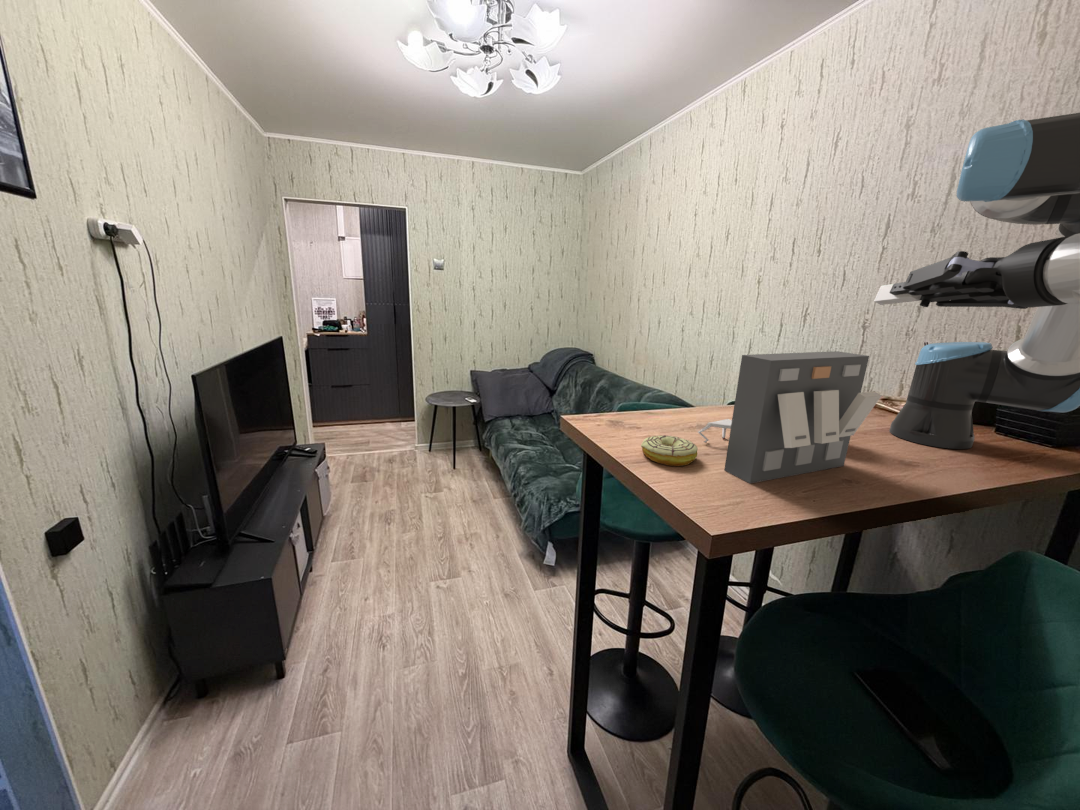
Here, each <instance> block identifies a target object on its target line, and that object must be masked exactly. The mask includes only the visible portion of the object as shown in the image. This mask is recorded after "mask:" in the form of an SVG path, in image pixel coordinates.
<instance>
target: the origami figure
mask: <svg viewBox="0 0 1080 810" xmlns="http://www.w3.org/2000/svg"><path fill="white" fill-rule="evenodd" d="M731 424H732V419H729V418H725V419H720V420H716V421H709V422H707V424H706V426H704V427H702V428H701V429H700V430H698V431H697V433H698V434H699V435H700V436H701V437H702V438H703V439H705V440H704V441H703V443H707V442H709V441H710V440H709V438H707V436H705V435H704V434H703V432H704V431H706V430H707V429H709V428H711V427H714V428H720V429H722V434H721V436H722V437H721V438H722V439H725V438H726V432H727V429H730V430H731Z"/></svg>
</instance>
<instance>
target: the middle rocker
mask: <svg viewBox="0 0 1080 810" xmlns="http://www.w3.org/2000/svg"><path fill="white" fill-rule="evenodd" d="M836 441H839V390H824V391H814V443H821V444H823V443H830V442H836Z"/></svg>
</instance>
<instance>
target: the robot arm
mask: <svg viewBox="0 0 1080 810" xmlns="http://www.w3.org/2000/svg"><path fill="white" fill-rule="evenodd" d="M961 168H962V169H961V171H960V175H959V180H958V186H957V188H956V198H957V199H958V200H959V201H961V202H970V204H971V207H972V208H973V209H974V211H975V212H976V213H978V214H979V215H981V216H982V217H985V218H988V219H991V220H995V221H997V222H1003V223H1010V224H1016V225H1029V226H1031V225H1035V226H1037V225H1039V226H1040V225H1058V227H1057V231H1058V232H1057V233H1058V234H1059V236H1061V237H1055V238H1051V239H1046V240H1041V241H1034V242H1030V243H1028V244H1025V245H1022V246H1020V247H1019V248H1018V249H1016V250H1015V251H1013V252H1012V253H1010V254H1009V255H1006V256H1005V257H1004V256H1001V257H998V256H997V257H995V256H994V257H993V256H992V257H990V256H989V257H985V258H983V259H981V260H976V259H971V258H969V257H968V256H969V252H967V251H963V250H960V251H957V252H955V253H954V254H953V255H952V256H951V257H948V258H945V259H943V260H939V261H937V262H934V263H931V264H928V265H926V266H923V267H920V268H917V269H914V270H911V271H909V274H908V277H907V278H906V280H905V281H902V282H895V283H892V284H891V283H890V284H885V285H880V287H879V289H878V291H877V293H876V295H875V297H874V299H873V302H874V303H876V304H878V305H881V306H883V305H891V304H903V303H910V302H911V303H912V302H920V303H919V306H920V307H923V308H928V307H929V306H930V303H935V306H937V307H943V308H944V307H945V308H946V307H947V308H953V307H954V308H957V307H959V308H962V307H963V308H965V307H966V308H967V307H968V308H1008V309H1009V308H1010V309H1011V308H1012V309H1023V310H1025V309H1029V308H1036V310H1035V311H1034V314H1033V317H1032V318H1031V321H1030V323H1029V325H1028V328H1027V330H1026V333H1025V335H1024V336H1023V338H1019V339H1018V340H1016V341H1014V342H1013V343H1011V345H1009V347H1008V349H1007V350H1002V349H1001V350H999V349H993V343H990V342H985V341H983V342H982V341H951V342H950V341H949V342H946V341H945V342H935V343H928V344H926V345H924V346H923V347H922V348H921V349H920V351H919V354H918V357H917V360H916V361H915V363H914V364H915V368H914V372H913V376H912V379H911V383H910V385H909V386H910V387H909V389H908V394H907V397H906V402H905V403H904V405H903V406H902V407H901V410H899V412H898V413H897V414H896V416H895V418H894V419H893V420H892V422H891V423H890V425H889V426H890V427H889V430H888V431H889V433H890V434H891V435H893V436H895V437H898V438H899V439H902V440H904V441H905V440H906V441H908V442H912V443H915V444H916V443H917V444H920V445H924V446H925V445H926V446H930V447H934V448H940V449H941V448H942V449H950V450H952V449H953V450H968V449H971V448H972V447H973V444H974V441H975V437H976V436H975V434H974V433H975V431H974V424H973V423H974V422H973V416H972V412H973V408H974V405H975V402H980V403H986V404H987V403H988V404H995V405H1001V406H1005V407H1006V406H1007V407H1012V408H1013V407H1014V408H1019V409H1028V410H1032V411H1038V412H1053V413H1069V412H1072V411H1074V410H1076V409H1078V408H1080V112H1075V113H1067V114H1062V115H1054V116H1047V117H1039V118H1034V119H1027V120H1026V119H1017V120H1016V119H1015V120H1013V121H1011V122H1008V123H1004V124H998V125H994V126H993V125H992V126H989V127H984V128H981V129H979V130H978V131H976V132H975V133H974V134H972V136H971V138H970V140H969V142H968V146H967V149H966V153H965V157H964V161H963V164H962V167H961Z"/></svg>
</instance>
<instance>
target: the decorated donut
mask: <svg viewBox="0 0 1080 810" xmlns="http://www.w3.org/2000/svg"><path fill="white" fill-rule="evenodd" d="M640 447H641V449H642V454H644V456H645V457H646V458H648V459H650V461H653V462H655V463H656V464H657V463H658V464H660V465H665V466H671V467H682V466H687V465H689V464H690V463H692V462H694V461H695V460H696V458H697V456H698V450H699V449H698V446H697V445H696V444H695V443H694V442H692V441H691V440H689V439H685V438H683V437H678V436H672V435H652V436H648V437H646V438H644V439H643V441H642V442H641V444H640Z"/></svg>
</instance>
